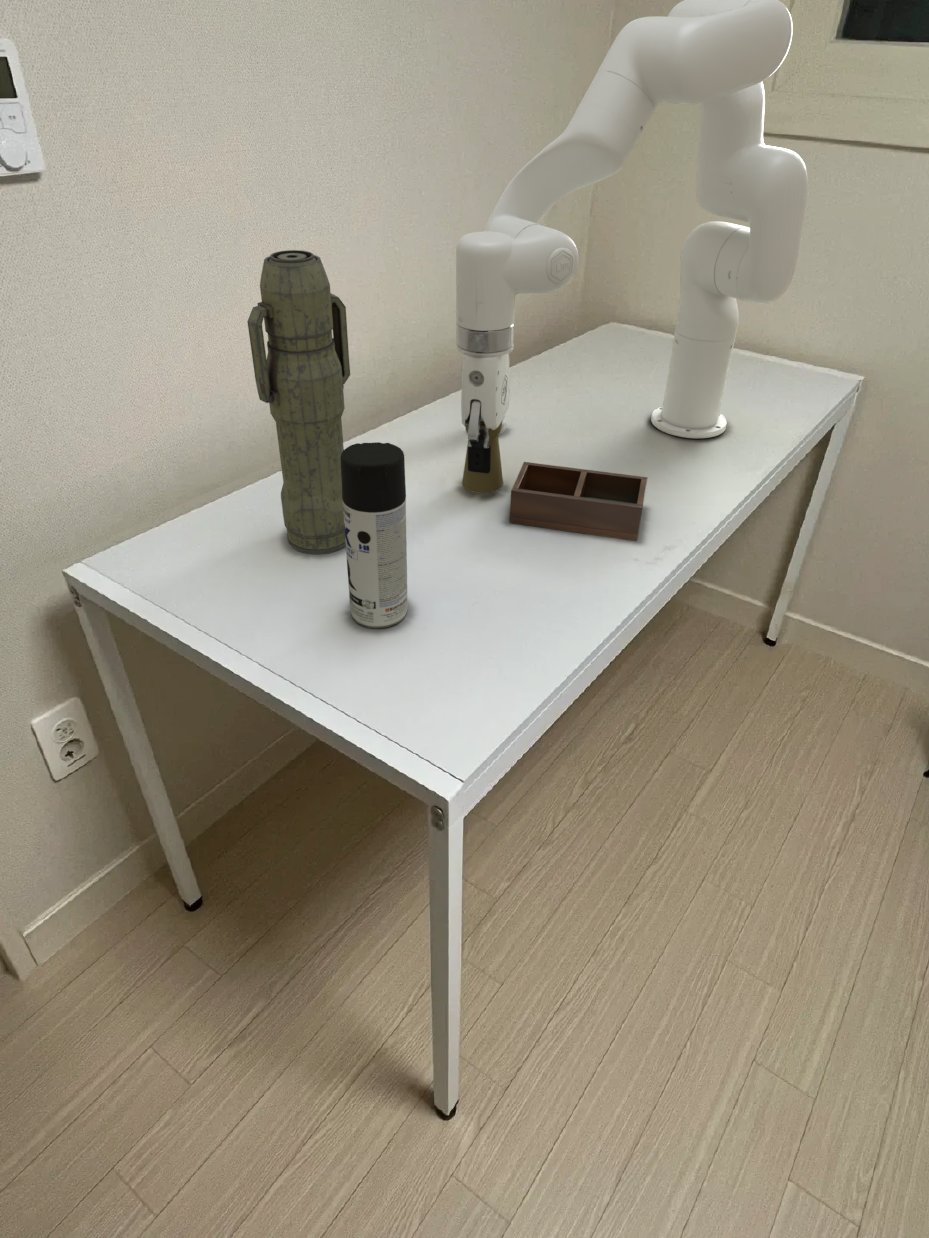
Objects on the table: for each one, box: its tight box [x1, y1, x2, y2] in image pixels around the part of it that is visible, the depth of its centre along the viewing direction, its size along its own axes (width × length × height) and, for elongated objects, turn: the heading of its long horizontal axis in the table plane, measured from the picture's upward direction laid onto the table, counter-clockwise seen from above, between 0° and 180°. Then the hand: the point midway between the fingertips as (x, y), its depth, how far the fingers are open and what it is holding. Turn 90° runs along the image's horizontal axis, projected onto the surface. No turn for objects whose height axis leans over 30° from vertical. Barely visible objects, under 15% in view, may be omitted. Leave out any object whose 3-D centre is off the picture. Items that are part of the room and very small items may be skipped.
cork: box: [461, 421, 504, 494], centre depth 118 cm, size 6×6×11 cm
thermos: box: [247, 249, 351, 555], centre depth 99 cm, size 9×12×35 cm
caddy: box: [508, 461, 648, 541], centre depth 114 cm, size 9×17×5 cm, turn 76°
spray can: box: [341, 441, 409, 629], centre depth 90 cm, size 7×7×20 cm
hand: (483, 462), depth 119 cm, fingers closed on cork, 4 cm apart
